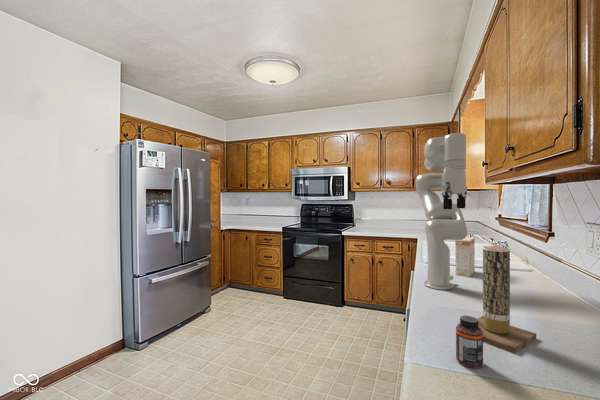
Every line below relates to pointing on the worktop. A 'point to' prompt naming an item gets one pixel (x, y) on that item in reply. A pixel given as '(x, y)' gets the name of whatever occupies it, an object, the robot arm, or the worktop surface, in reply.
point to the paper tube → (496, 289)
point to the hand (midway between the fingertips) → (454, 208)
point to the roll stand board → (508, 338)
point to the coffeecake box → (465, 256)
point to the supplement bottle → (469, 342)
